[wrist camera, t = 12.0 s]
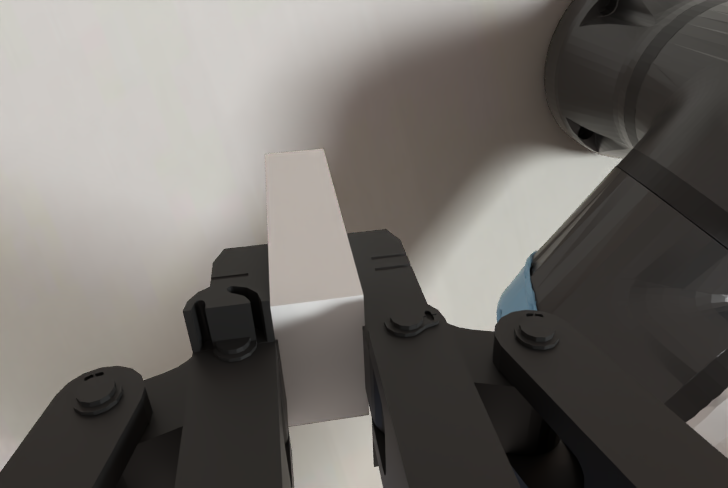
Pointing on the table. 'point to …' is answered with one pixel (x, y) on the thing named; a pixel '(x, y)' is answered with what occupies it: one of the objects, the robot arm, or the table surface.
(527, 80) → the table surface
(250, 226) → the table surface
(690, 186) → the robot arm
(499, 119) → the table surface
